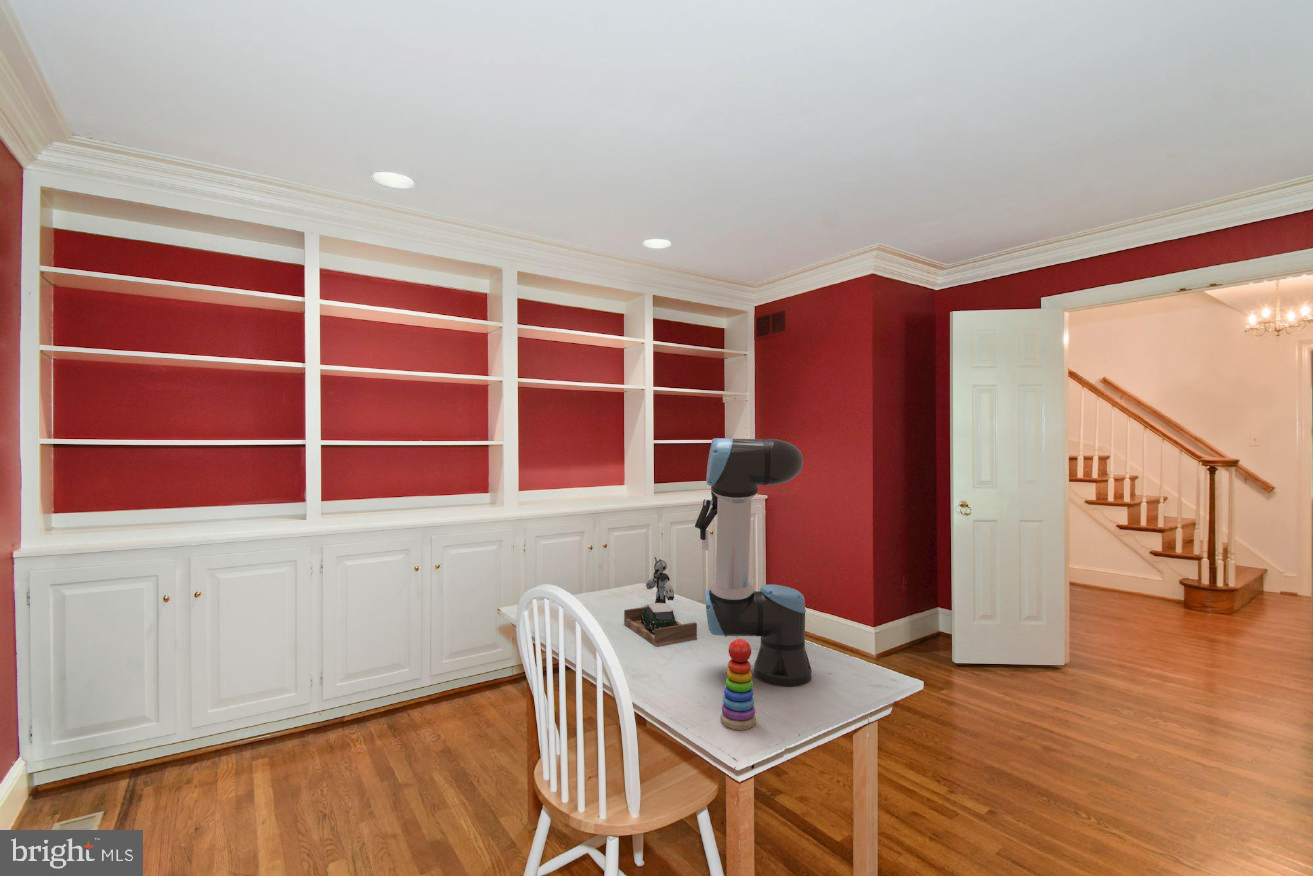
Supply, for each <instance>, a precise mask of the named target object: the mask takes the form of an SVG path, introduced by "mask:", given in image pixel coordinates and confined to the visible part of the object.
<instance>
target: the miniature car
mask: <svg viewBox="0 0 1313 876" xmlns="http://www.w3.org/2000/svg"><path fill="white" fill-rule="evenodd" d="M646 607H647V608H643V609H642V614H641V623H645V625H646V626H647V627H648V629H649V632H650V633H652V634H653V635H654V632H655V629H658V628H664V627H670V626H676V625H677V623H676V621H677V620H676V618H675V614H674V610H673V608H672V607H671V606H670V604H668V603H667V602H666V603H655V602H653V603H651V604H647V605H646Z"/></svg>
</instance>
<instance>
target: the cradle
mask: <svg viewBox="0 0 1313 876" xmlns="http://www.w3.org/2000/svg"><path fill="white" fill-rule="evenodd" d="M643 608H647V606H641V607H635V608H628V609H627V608H626V609H624V612H623V613H624V615H623V622H624V623H623V625H624V626H626V627H627V628H628V629H630V630H631V631H633V632H634V633H635V634H637V635H639V636H640V637H641V638H642V639H644V640H646V641H647V642H649V643H650V644H652V645H653V646H654V647H661V646H667V645H673V644H678V643H684V642H690V641H693V640H697V638H698V631H697V630H698V629H697V628H698V623H697V622H693V621H692V622H687V623H682V622H680V621H678V620H676V623H677V625H676V626H670V627H664V628H658V629H655V632H654V635H653V634H652V633H650V632H649V629H648V627H647V626H646V625H645V623H641V614H642V609H643Z"/></svg>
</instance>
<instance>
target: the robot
mask: <svg viewBox="0 0 1313 876" xmlns="http://www.w3.org/2000/svg"><path fill="white" fill-rule="evenodd" d="M654 562H655V563H654V565H653V570H654V573H653V577H651V578H650V579H648V581H647V582H646V585H645V587H646V589H647V590H652V589H654V588H655V587H656V594H655V595H656V596H655V601H654V603H666V604H667V601H668V602H669V601H674V599H675V593H674V592H675V591H674V589H673V586H672V585H670V584H669V582H670V579H671V578H670V576H669V575H668V574H667V573H666V572H665V571H666V570H667V568H668V567H667V566H668V564H667V562H666V561H665V560H663V559H661V558H659V560H657V557H656V556H654ZM664 572H665V573H664Z"/></svg>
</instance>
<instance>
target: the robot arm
mask: <svg viewBox="0 0 1313 876" xmlns="http://www.w3.org/2000/svg"><path fill="white" fill-rule="evenodd" d="M803 466H804V457H803V454H802V452H801V450H800V449H799V448H798V447H797V446H796V445H795V444H793V443H791V442H789V441H785V440H781V439H777V438H776V439H774V438H765V439H764V438H763V439H762V438H729V437H728V438H727V437H726V438H722V437H721V438H718V437H717V438H716V437H715V438H712V440H711V444H710V449H709V453H708V460H707V467H706V475H705V476H706V479H705V480H706V485H708V486H710V494H711V499H706V498H705V499H703V501H702V507H701V510H700V512H699V515H698V517H697V520H696V522H695V524H694V527H695V528H696V529H699V532H700V533H699V539H700V540H701V549H702V550H704V551H709V529H708V527H709V525H710V524H711V523H712V521H713V520H714V519H715V517H716V551H715V552H716V555H715V556H716V557H715V559H716V560H715V561H716V563H715V579H714V580H713V581H712V582H711V583H710V585H709V589H708V590H705V591H704V602H705V613H706V620H707V626H708V631H709V633H710V634H711V635H714V636H721V637H722V636H723V637H760V646H759V649H758V652H757V655H756V659H755V661H754V665H753V675H754V677H756V678H757V679H758V680H760V681H762V682H764V683H767V684H768V685H769V684H770V685H775V686H781V687H798V686H802V685H805V684H808V683H809V682H810V681H811V680H812V673H813V671H812V667H811V662H810V660H809V657H808V654H807V653H808V652H807V650H806V612H807V610H806V602H805V600H806V599H805V597H804V595H803V593H802V592H800V591H799V590H797V589H796V588H792V587H789V586H785V585H780V584H762V585H761V587H760V590H758V591H756V590H755V587H754V586H753V584H752V583H751V581H749V575H750V574H749V573H750V572H749V570H750V547H751V519H752V518H751V517H752V515H751V514H752V499H753V498H755V497H756V496H757V495H758V494H759V493H758V492H759V486H777V485H781V484H784V483H785V484H786V483H787V482H789V481H791V480H793V479H795V478H796V477H797V476H799V474H800V473H801V471H802V469H803Z"/></svg>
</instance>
